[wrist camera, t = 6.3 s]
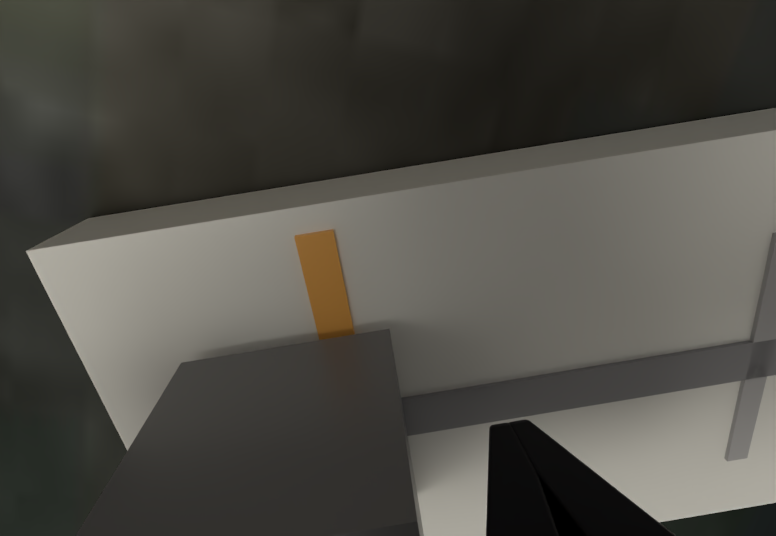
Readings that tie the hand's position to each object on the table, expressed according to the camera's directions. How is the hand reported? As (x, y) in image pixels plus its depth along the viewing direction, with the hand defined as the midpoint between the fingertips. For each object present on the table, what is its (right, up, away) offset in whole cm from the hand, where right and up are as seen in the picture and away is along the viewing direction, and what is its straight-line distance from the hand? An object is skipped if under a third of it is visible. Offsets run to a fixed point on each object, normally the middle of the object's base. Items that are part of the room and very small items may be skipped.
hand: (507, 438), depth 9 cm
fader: (-4, 0, +1) cm, 4 cm away
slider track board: (+2, +2, +3) cm, 4 cm away
